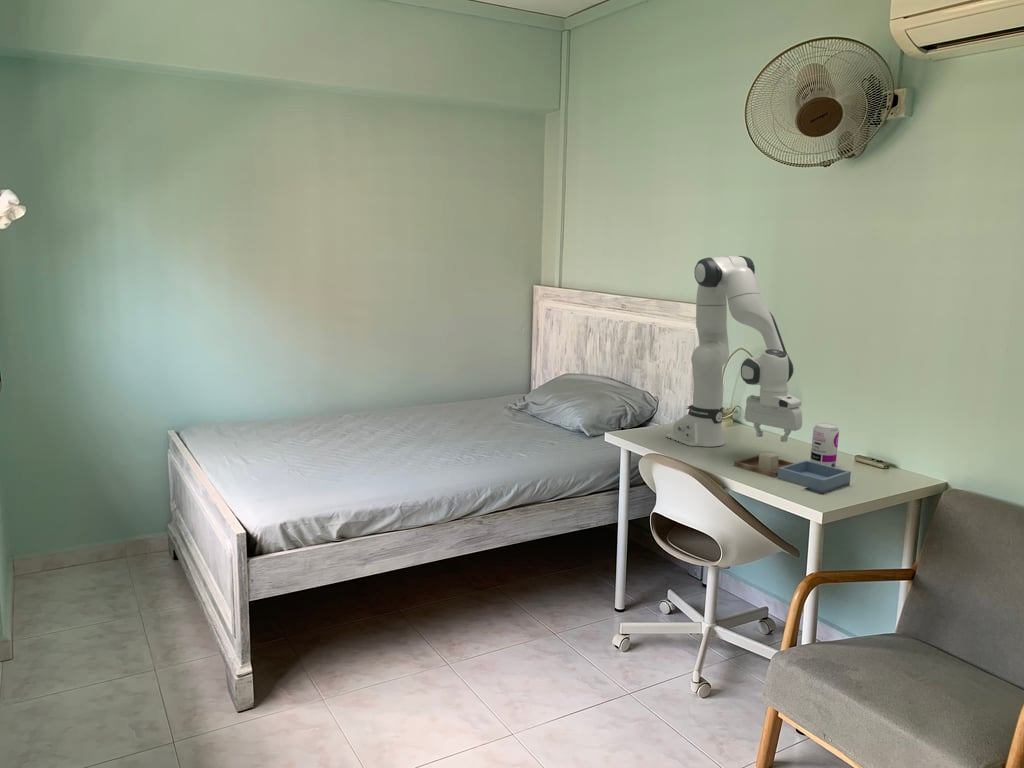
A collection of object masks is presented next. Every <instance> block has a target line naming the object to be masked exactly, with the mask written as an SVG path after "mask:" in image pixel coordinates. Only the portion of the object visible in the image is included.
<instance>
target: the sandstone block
mask: <svg viewBox="0 0 1024 768" xmlns="http://www.w3.org/2000/svg"><path fill="white" fill-rule="evenodd" d="M758 455H759V465H758V467H760V468H763V469H767V470H773V469H776V468H778V459H779V454H777V453H776V454H775V453H772V452H762V453H760V454H758Z"/></svg>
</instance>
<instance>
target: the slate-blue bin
mask: <svg viewBox="0 0 1024 768" xmlns="http://www.w3.org/2000/svg"><path fill="white" fill-rule="evenodd" d="M793 463H794V464H791V465H787V466H784V467H780V468H778V477H776V478H777V479H778V480H781V481H785V482H789V483H793V484H794V485H798V486H803V487H805V488H803V489H804V490H806V491H810V492H812V491H813V493H817V494H820V495H824V493H825V494H827V492H828V493H831V492H834V491H836V489H837V490H840V489H842V488H841V487H843V488H845V486H846V487H848V486H850V484H851V476H852V475H851V474H852V471H849V470H846V469H842V468H838V467H831V466H827V465H823V464H819V463H815V462H812V461H810V460H807V459H804V460H801V461H798V462H793ZM847 485H848V486H847ZM839 488H840V489H839ZM833 490H834V491H833Z"/></svg>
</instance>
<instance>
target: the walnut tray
mask: <svg viewBox="0 0 1024 768" xmlns="http://www.w3.org/2000/svg"><path fill="white" fill-rule="evenodd" d="M794 463H795V462H792V461H789V460H786V459H781V458H778V468H780V467H784V466H787V465H791V464H794ZM758 465H759V454H758V455H757V454H756V455H754V456H751V457H747V458H743V459H739V460H735V461H734V462H733V467H737V468H740V469H743V470H746V471H750V472H754V473H757V474H761V475H765V476H767V477H771V478H773V479H774V478H778V468H776V469H773V470H767V469H763V468H760V467H758Z"/></svg>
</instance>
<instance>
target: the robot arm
mask: <svg viewBox="0 0 1024 768" xmlns="http://www.w3.org/2000/svg"><path fill="white" fill-rule="evenodd" d="M755 270H756V269H755V264H754V262H753V260H752V259H751V258H750V257H748V256H743V255H738V256H736V255H723V256H715V257H706V258H702V259H700V260H698V261H697V262H696V265H695V267H694V279H695V281H696V282H697V284H698V285H697V291H696V292H697V293H696V298H695V299H696V300H695V302H696V303H695V312H696V313H695V327H696V330H697V334H698V346H696V348H695V349H694V350H693V352H692V355H691V359H690V360H691V365H692V366H691V369H692V370H691V371H692V379H693V381H692V382H693V390H692V391H693V393H692V404H690V405H687V406H686V410H688V413H687V414H685V415H684V416H682V417H681V418H679V419H678V420H676V421H675V422H674V424H673V428H672V431H670V432H668V433H667V434H666V436H665V437H666V438H667V437H668V439H670V438H671V439H670V440H673V441H675V440H676V441H675V442H678V441H679V443H681V444H684V445H687V446H688V447H689V446H690V447H711V448H712V447H719V446H724V444H725V440H724V436H723V424H722V423H723V422H722V421H723V418H724V407H723V401H724V399H723V398H724V381H723V366H724V365H725V364H726V363H727V362H728V360H729V357H730V348H729V339H728V338H729V337H728V329H727V317H728V316H727V308H728V309H729V310H728V311H729V312H730V315H731V317H732V318H733V319H734V320H736V322H738V323H740V324H742V325H745V326H748V327H750V328H753V329H755V330H756V331H757V332H759V333H760V334H761V336H762V338H763V341H764V343H765V346H766V348H767V349H766V350H763V352H762V353H761V354H759V355H755V356H752V357H749V358H748V357H747V358H746V359H744V360H743V362H742V363H741V367H740V377H741V379H742V381H743V382H744V383H745V384H747V385H751V386H760V389H759V396H758V395H754V394H752V395H751V394H750V395H749V396H748V397H747V398H746V401H745V402H746V403H745V404H746V406H745V410H744V420H745V421H746V422H748V423H752V424H753V428H754V429H755V433H756V437H758V438H761V437H763V436H764V435H763V434H764V431H763V430H762V429H761V427H760V426H761V425H764V426H768V427H774V428H778V429H783V432H784V434H783V435H782V436H781V435H780V442H783V443H787V442H788V437H789V435H790V434H791V432H792V431H793V432H796V431H799V430H801V428H802V427H803V410H802V409H801V408H800V406H802V401H801V399H799V398H797V397H795V396H794V395H791V393H789V390H788V389H789V387H788V382H789V381H790V380H791V379H792V377H793V374H794V369H795V368H794V364H793V361H792V359H791V358H790V356H789V354H788V352H787V350H786V347H785V344H784V342H783V339H782V336H781V333H780V330H779V328H778V327H779V326H778V325H777V322H776V320H775V318H774V315H773V314H772V313H771V312H770V311H768V309H767V307H766V306H765V304H764V302H763V300H762V297H761V291H760V289H759V285H758V282H757V278H756V276H755V274H756V273H755V272H756V271H755ZM727 305H728V307H727Z"/></svg>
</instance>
